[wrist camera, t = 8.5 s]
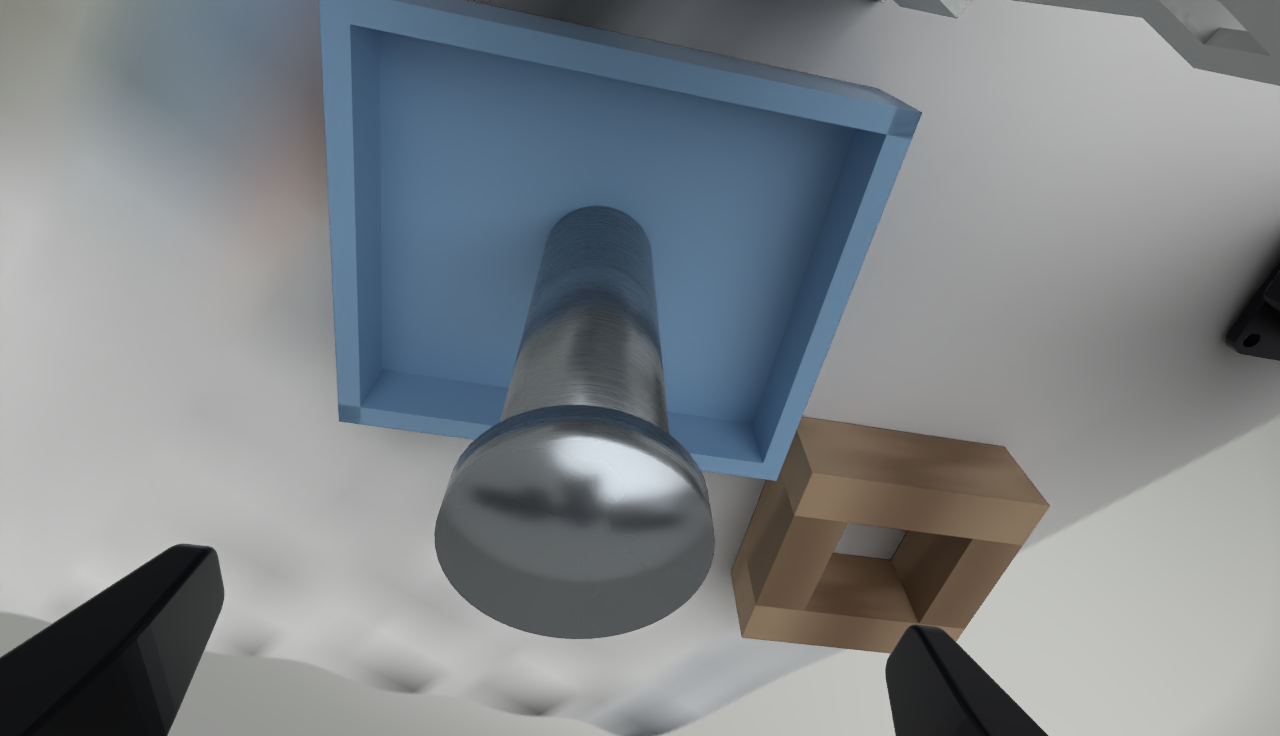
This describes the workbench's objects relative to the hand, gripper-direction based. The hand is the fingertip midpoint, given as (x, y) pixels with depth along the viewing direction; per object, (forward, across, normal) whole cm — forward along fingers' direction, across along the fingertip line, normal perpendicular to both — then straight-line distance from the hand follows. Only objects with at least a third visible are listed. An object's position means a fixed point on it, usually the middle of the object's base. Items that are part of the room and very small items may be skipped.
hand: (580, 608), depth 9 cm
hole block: (+13, -11, +9) cm, 19 cm away
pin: (+12, 0, 0) cm, 12 cm away
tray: (+13, 0, 0) cm, 13 cm away
